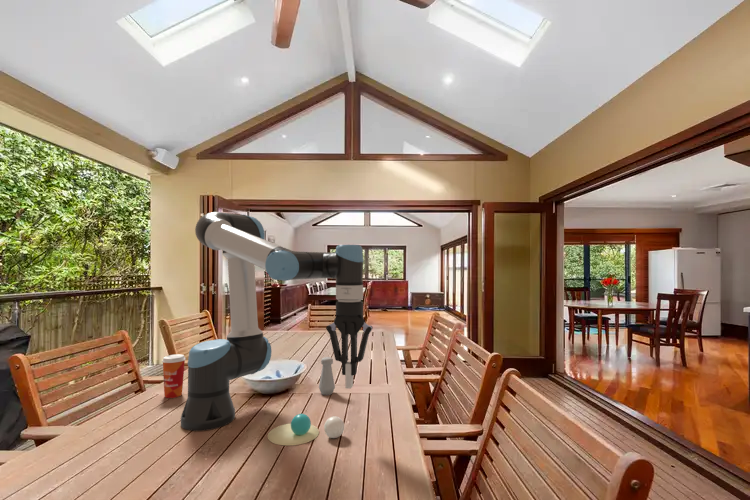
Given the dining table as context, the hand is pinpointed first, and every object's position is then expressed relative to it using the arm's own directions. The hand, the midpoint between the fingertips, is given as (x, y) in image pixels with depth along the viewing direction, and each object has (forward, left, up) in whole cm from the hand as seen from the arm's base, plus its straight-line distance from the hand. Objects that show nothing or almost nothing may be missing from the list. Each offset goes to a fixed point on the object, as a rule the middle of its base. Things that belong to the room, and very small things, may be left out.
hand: (349, 386), depth 105 cm
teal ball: (-14, 0, -11) cm, 18 cm away
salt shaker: (-17, +34, -14) cm, 41 cm away
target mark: (-16, 0, -14) cm, 21 cm away
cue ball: (-4, 0, -11) cm, 12 cm away
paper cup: (-71, +22, -14) cm, 76 cm away
